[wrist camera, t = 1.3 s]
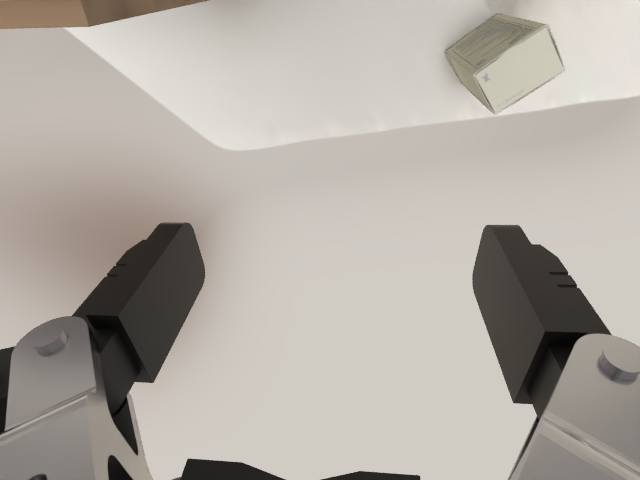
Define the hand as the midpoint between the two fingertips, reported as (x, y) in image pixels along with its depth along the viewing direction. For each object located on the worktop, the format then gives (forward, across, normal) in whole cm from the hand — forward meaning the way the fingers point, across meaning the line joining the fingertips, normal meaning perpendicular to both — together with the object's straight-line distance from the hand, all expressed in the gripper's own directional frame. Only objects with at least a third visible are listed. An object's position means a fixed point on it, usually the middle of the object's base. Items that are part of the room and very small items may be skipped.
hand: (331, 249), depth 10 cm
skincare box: (+38, -14, +1) cm, 40 cm away
